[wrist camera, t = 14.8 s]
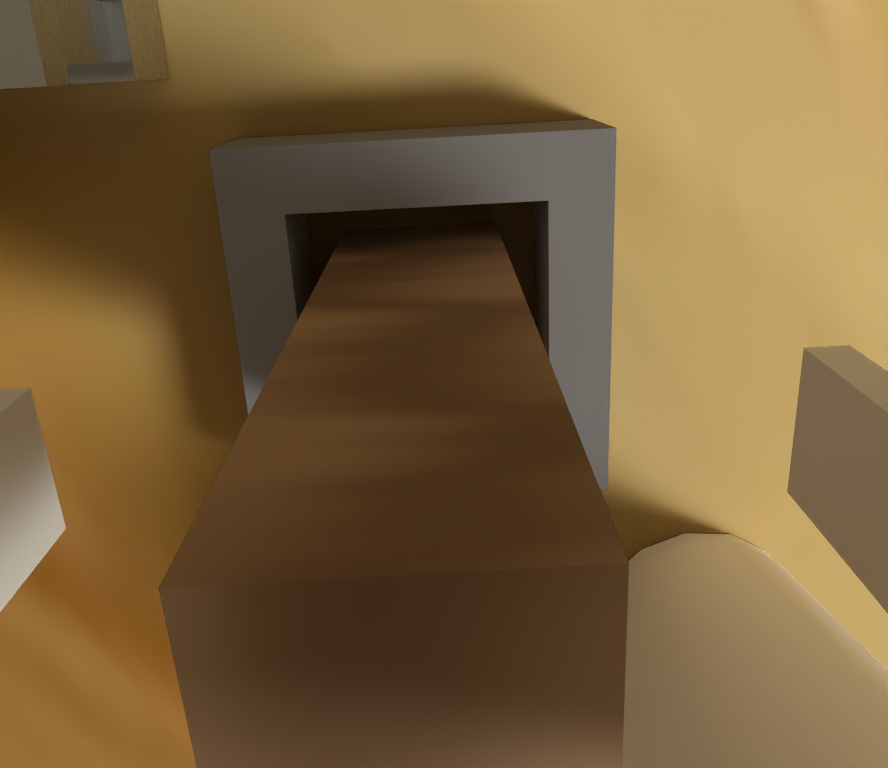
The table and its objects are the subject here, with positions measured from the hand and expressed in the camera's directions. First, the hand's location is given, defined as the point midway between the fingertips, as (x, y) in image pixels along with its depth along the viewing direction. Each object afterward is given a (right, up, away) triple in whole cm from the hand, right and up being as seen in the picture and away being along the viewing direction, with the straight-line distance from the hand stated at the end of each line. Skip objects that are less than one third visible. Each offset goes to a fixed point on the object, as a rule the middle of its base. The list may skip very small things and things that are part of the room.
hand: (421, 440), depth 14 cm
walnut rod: (0, +3, +8) cm, 9 cm away
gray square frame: (0, +3, +8) cm, 9 cm away
